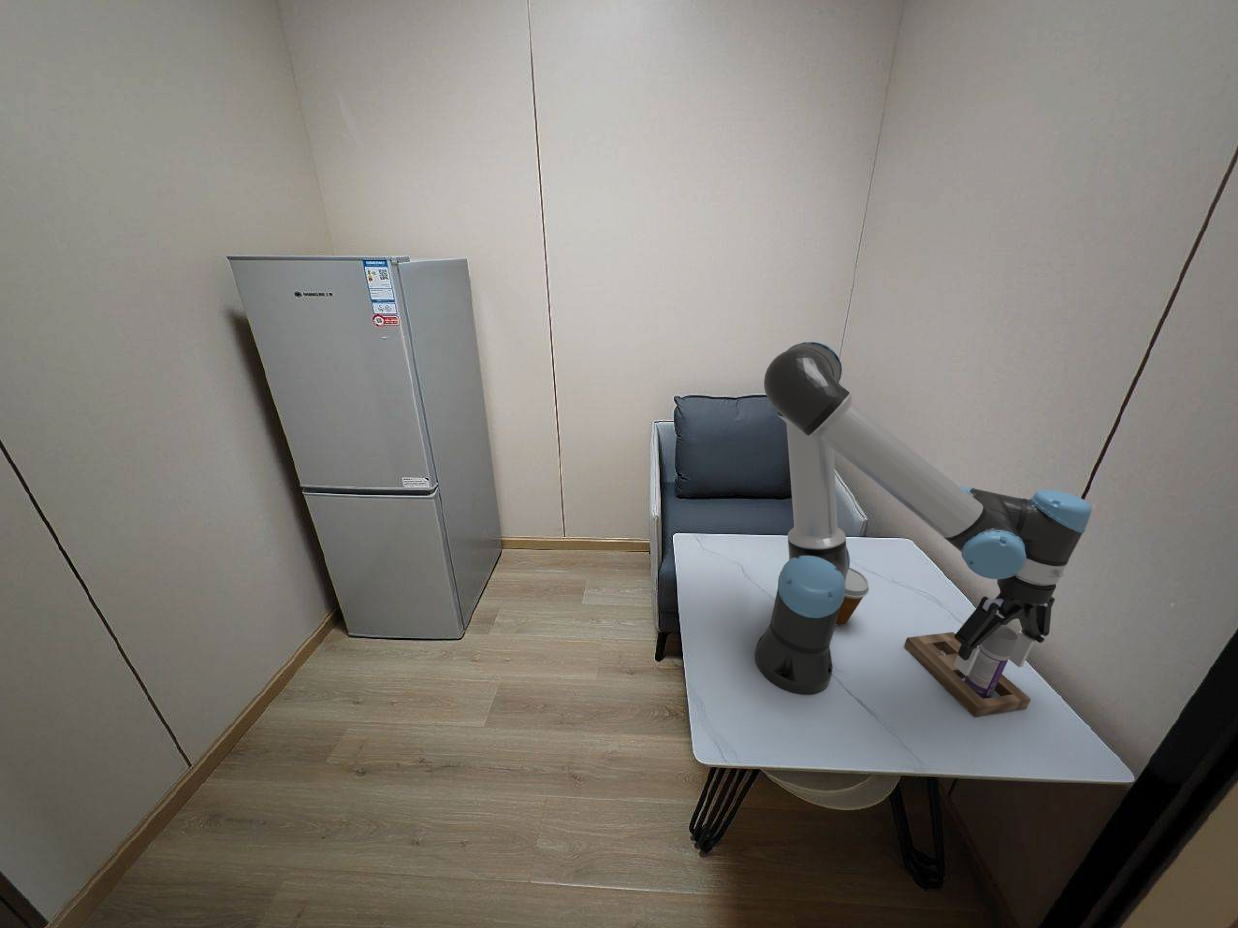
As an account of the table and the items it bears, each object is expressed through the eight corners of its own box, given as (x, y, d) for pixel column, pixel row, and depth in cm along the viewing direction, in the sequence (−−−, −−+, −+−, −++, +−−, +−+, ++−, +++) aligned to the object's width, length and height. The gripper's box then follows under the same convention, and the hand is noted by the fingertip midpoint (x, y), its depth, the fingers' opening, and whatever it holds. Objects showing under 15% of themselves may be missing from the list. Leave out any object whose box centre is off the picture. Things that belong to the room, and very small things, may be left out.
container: (981, 681, 96) (1007, 624, 90) (996, 700, 91) (1024, 641, 86) (957, 679, 96) (982, 621, 90) (971, 698, 92) (997, 639, 86)
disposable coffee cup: (810, 620, 111) (823, 582, 105) (815, 595, 118) (828, 558, 112) (853, 637, 107) (869, 598, 101) (856, 610, 114) (871, 573, 109)
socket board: (974, 717, 88) (978, 707, 87) (903, 646, 104) (907, 637, 103) (1026, 708, 90) (1031, 699, 89) (949, 640, 106) (953, 631, 105)
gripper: (993, 594, 77) (951, 689, 86) (1106, 581, 82) (1056, 672, 90) (955, 567, 84) (920, 658, 92) (1061, 556, 89) (1019, 644, 97)
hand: (987, 665), depth 91 cm, fingers open, 12 cm apart
